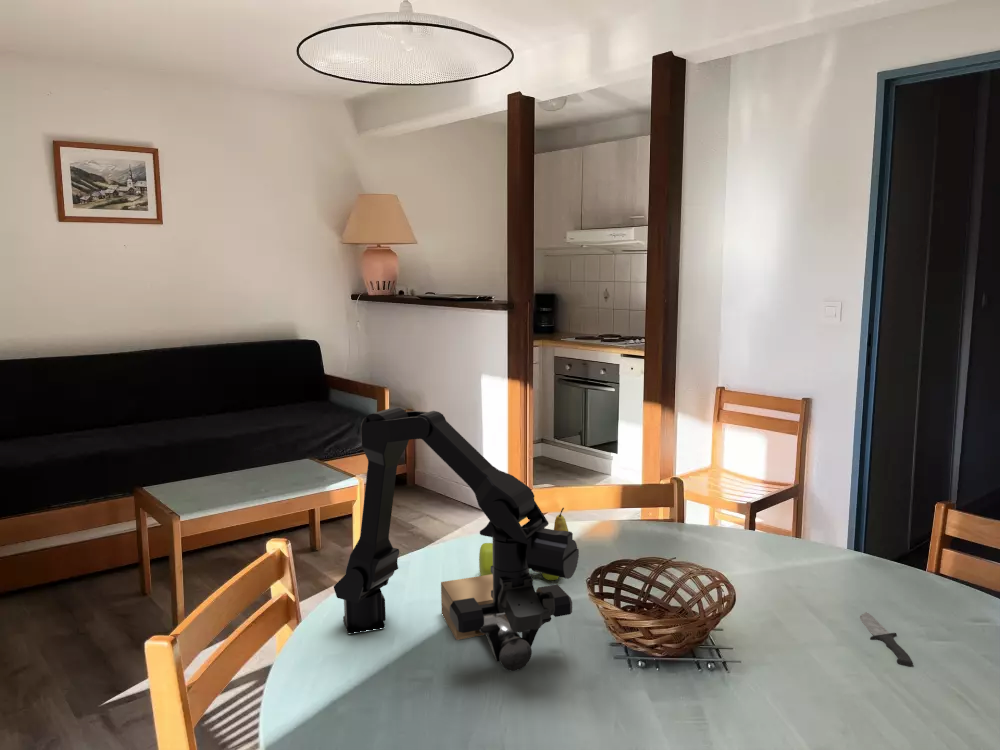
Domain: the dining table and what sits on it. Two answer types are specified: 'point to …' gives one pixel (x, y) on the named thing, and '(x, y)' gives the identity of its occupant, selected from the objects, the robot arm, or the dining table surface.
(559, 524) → the fruit
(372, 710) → the dining table surface
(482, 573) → the dumbbell
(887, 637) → the knife
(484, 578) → the housing
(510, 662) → the dark grey metal cylinder
